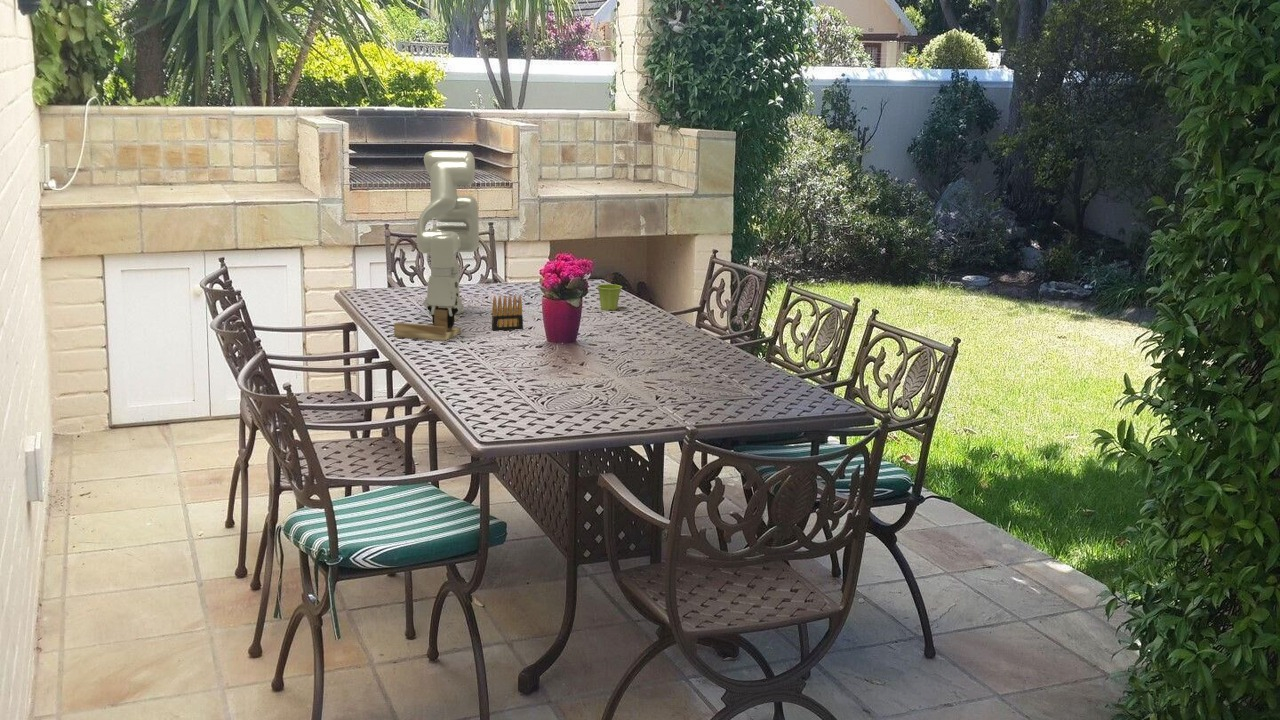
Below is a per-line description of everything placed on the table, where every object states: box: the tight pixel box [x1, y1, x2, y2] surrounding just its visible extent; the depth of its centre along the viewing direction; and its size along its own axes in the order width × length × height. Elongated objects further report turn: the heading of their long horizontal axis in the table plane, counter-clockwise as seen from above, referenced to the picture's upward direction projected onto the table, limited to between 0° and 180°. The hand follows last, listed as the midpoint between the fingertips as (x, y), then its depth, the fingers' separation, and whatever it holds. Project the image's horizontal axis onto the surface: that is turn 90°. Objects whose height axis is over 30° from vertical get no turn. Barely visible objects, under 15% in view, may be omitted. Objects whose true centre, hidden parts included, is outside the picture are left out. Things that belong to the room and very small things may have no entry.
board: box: [393, 322, 462, 342], centre depth 425 cm, size 13×18×4 cm
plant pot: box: [596, 283, 623, 311], centre depth 476 cm, size 9×9×9 cm
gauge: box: [434, 307, 458, 331], centre depth 427 cm, size 12×4×7 cm, turn 164°
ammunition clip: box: [491, 294, 524, 332], centre depth 436 cm, size 11×2×12 cm, turn 110°
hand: (443, 326), depth 424 cm, fingers closed on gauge, 4 cm apart
